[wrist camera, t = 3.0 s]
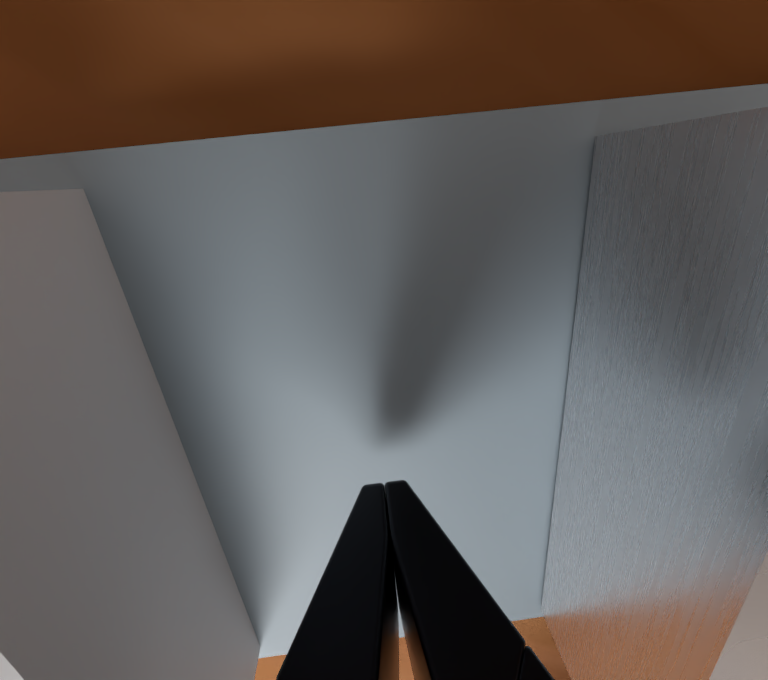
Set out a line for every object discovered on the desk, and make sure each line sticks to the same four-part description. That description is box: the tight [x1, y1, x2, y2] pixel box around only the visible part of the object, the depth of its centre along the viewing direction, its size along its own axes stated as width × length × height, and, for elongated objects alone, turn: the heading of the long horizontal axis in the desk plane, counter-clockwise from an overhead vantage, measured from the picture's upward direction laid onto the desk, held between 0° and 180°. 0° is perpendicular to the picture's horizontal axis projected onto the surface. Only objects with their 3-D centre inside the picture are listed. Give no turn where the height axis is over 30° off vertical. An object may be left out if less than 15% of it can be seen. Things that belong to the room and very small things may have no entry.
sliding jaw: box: [541, 107, 768, 680], centre depth 7 cm, size 2×12×4 cm, turn 6°
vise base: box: [0, 83, 768, 680], centre depth 7 cm, size 22×13×5 cm, turn 95°
